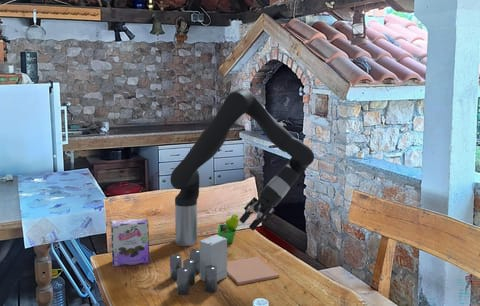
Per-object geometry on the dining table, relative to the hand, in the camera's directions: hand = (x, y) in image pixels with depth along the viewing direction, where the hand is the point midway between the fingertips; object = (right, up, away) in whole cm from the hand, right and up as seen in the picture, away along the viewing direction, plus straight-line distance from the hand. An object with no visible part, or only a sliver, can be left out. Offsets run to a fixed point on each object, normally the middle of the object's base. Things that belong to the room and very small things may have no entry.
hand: (245, 225), depth 171 cm
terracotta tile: (+1, -18, +5) cm, 18 cm away
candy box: (-44, -16, +12) cm, 48 cm away
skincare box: (-11, -19, -2) cm, 22 cm away
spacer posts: (-19, -19, -5) cm, 28 cm away
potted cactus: (-7, -12, +37) cm, 40 cm away
